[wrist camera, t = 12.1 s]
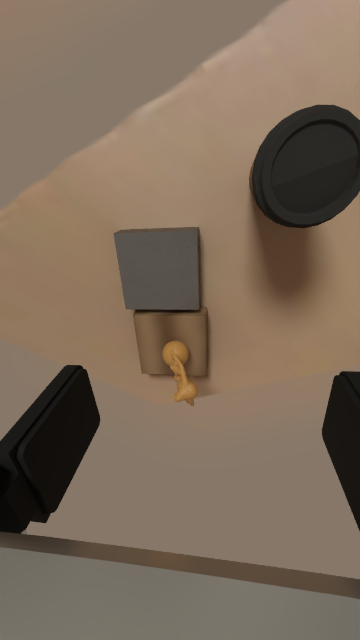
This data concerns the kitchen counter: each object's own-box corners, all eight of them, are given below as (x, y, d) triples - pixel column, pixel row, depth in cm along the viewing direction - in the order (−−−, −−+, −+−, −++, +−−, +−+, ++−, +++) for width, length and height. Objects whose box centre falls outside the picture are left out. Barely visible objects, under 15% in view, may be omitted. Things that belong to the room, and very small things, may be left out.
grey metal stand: (198, 226, 36) (197, 230, 33) (200, 301, 41) (198, 309, 38) (121, 229, 38) (113, 233, 35) (131, 301, 43) (125, 309, 40)
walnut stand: (206, 307, 41) (206, 316, 39) (207, 365, 46) (206, 376, 44) (138, 307, 43) (133, 315, 40) (146, 362, 48) (141, 373, 45)
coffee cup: (317, 199, 33) (383, 209, 20) (249, 222, 35) (267, 246, 22) (307, 121, 30) (377, 71, 16) (233, 152, 32) (242, 130, 19)
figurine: (158, 325, 40) (136, 375, 30) (197, 319, 39) (188, 370, 29) (171, 369, 44) (156, 428, 33) (207, 365, 43) (203, 425, 32)
